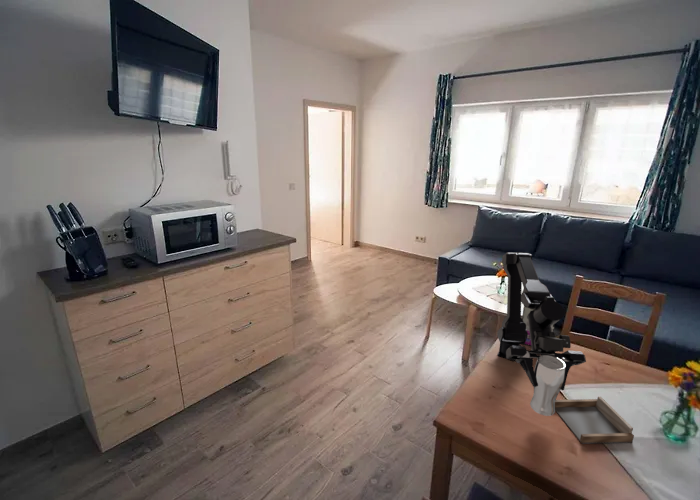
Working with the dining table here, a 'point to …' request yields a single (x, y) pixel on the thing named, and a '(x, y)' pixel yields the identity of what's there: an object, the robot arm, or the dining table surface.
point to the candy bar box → (525, 320)
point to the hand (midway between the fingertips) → (548, 388)
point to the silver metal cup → (547, 384)
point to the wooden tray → (594, 421)
